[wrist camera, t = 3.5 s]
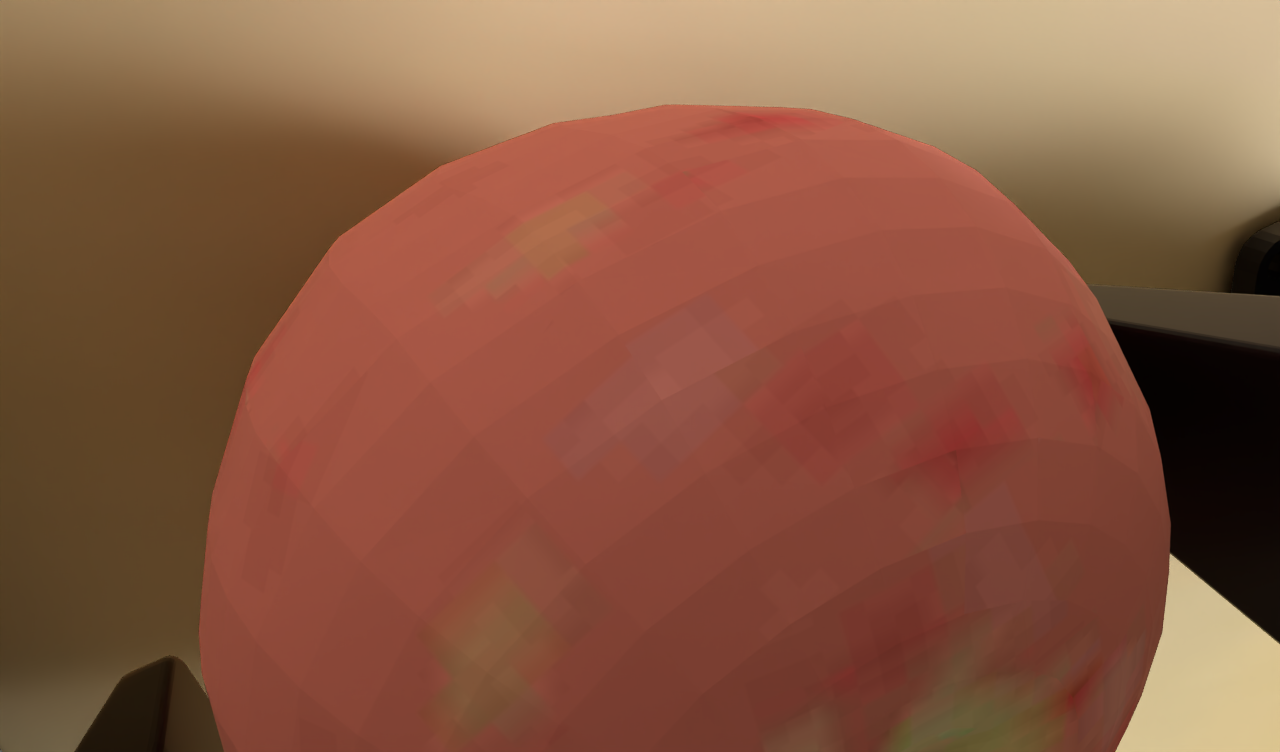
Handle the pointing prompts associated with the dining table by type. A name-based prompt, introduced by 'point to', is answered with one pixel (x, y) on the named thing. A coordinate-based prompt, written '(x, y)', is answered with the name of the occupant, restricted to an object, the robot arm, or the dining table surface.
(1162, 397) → the robot arm
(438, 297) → the apple
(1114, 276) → the dining table surface
